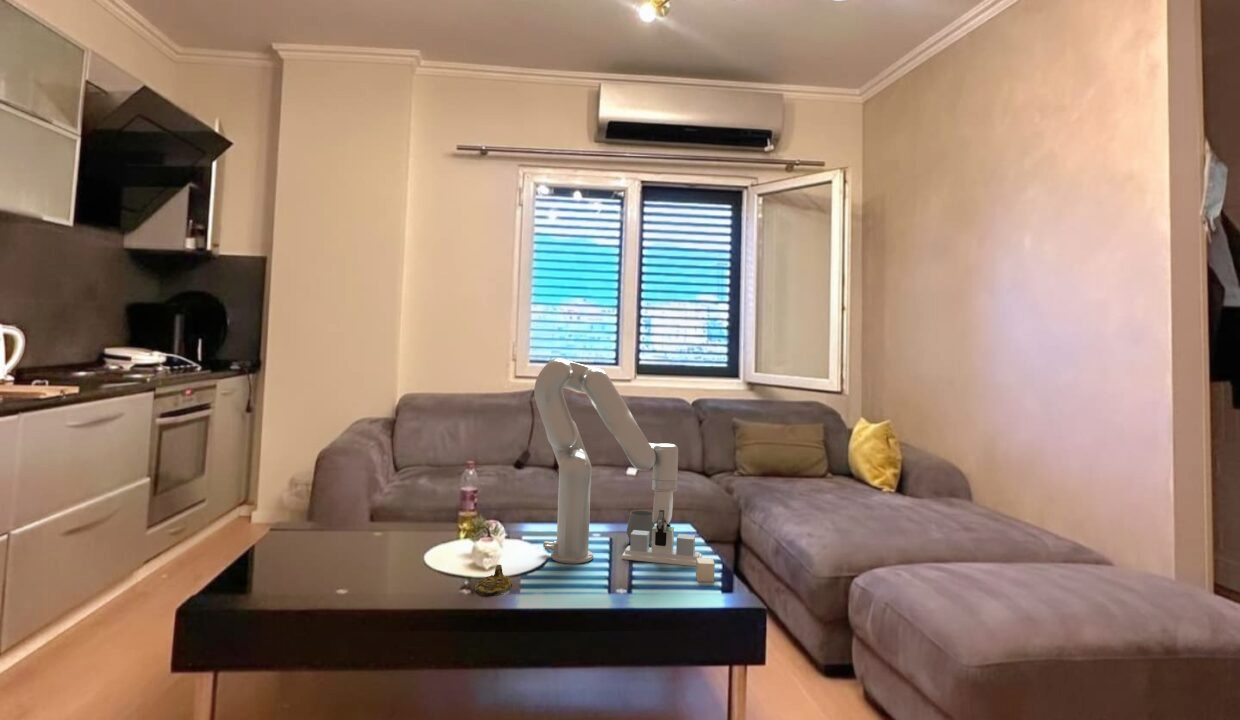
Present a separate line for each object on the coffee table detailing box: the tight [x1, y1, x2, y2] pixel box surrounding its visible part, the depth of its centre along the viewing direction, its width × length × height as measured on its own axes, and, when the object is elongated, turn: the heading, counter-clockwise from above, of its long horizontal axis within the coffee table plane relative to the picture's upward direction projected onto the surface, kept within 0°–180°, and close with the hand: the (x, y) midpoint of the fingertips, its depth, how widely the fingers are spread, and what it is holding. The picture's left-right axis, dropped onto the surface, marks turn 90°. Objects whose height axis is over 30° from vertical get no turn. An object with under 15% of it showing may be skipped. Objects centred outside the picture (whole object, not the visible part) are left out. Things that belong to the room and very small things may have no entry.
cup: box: [626, 510, 656, 545], centre depth 220 cm, size 10×9×10 cm
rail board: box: [621, 530, 703, 567], centre depth 205 cm, size 23×9×7 cm, turn 79°
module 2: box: [695, 557, 716, 583], centre depth 187 cm, size 4×5×5 cm
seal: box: [473, 564, 513, 597], centre depth 175 cm, size 9×5×15 cm
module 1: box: [651, 525, 675, 554], centre depth 205 cm, size 6×4×7 cm
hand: (662, 541), depth 205 cm, fingers open, 9 cm apart
